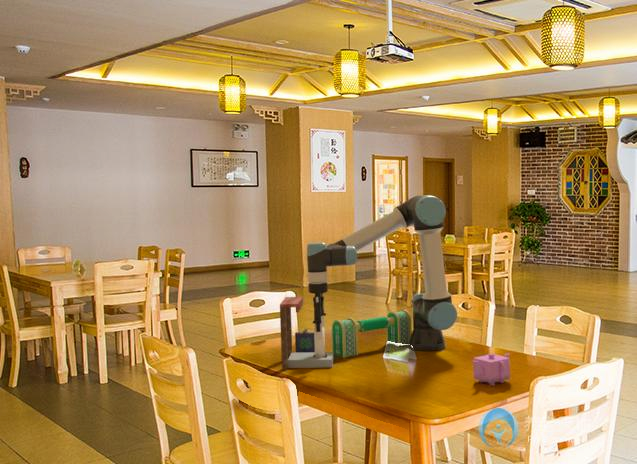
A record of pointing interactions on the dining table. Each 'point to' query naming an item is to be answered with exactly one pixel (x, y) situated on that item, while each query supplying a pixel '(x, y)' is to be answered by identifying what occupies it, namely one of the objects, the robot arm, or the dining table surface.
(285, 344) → the curved red bench
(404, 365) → the dining table surface
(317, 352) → the peg
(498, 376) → the pink square teapot
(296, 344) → the flask
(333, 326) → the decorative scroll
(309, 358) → the socket block
